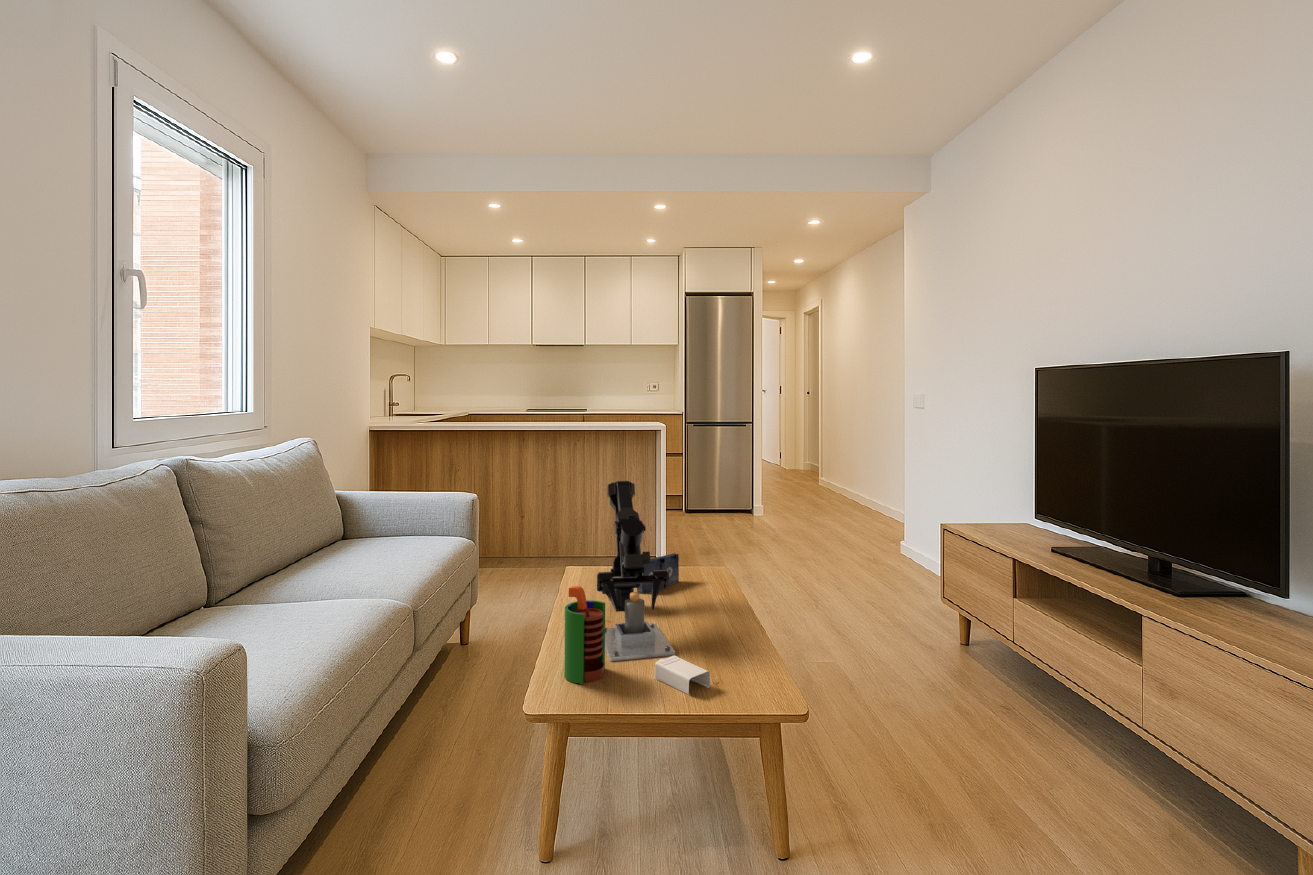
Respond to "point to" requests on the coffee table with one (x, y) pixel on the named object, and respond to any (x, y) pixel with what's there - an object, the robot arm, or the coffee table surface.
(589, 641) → the motor
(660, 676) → the white plastic end cap
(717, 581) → the coffee table surface
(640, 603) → the grey and orange piece
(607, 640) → the pump mount
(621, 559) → the robot arm
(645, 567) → the vhs cassette tape
